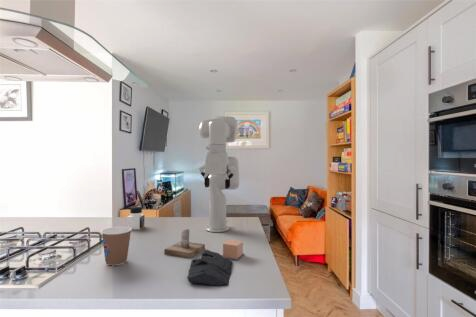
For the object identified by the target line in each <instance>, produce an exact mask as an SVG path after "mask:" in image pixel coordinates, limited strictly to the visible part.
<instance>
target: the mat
mask: <svg viewBox="0 0 476 317" xmlns="http://www.w3.org/2000/svg"><path fill="white" fill-rule="evenodd" d="M221 255H222V257H223V254H221ZM244 255H245V253H244V252H243V254H242V255H241V256H240V257H239V258H238V259H234V258H228V257H224V258H226V259H229V260H231V261H236V262H237V261H239V260H240V259H241V258H242V257H243V256H244Z"/></svg>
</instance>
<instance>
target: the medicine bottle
mask: <svg viewBox="0 0 476 317" xmlns="http://www.w3.org/2000/svg"><path fill="white" fill-rule="evenodd" d="M129 210H130V212H129V214H130V215H128V216H127V219H126V223H127V224H126V227H130V228H131V229H132V231H133V230H138V231H139V230H142V229H143V228H145V213H144V214H143V213H142V212H143V207H142V206H139V205H138V206H135V205H134V206H132V207H130V208H129Z"/></svg>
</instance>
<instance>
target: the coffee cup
mask: <svg viewBox="0 0 476 317" xmlns="http://www.w3.org/2000/svg"><path fill="white" fill-rule="evenodd" d="M131 231H133V229H131V228H130V227H127V226H114V227H113V226H112V227H108V228H104V229H103V230H101V231H100V232H101V235H102V245H103V252H104V253H103V254H104V259H105V260H104V262H105V265H106V266H109V265H112V266H113V265H117V266H120V265H124V264H126V263H127V259H128V255H129V254H128V253H129V249H130V248H129V247H130V240H131V233H132V232H131ZM112 266H111V267H112ZM113 267H114V266H113Z"/></svg>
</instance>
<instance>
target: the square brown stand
mask: <svg viewBox="0 0 476 317" xmlns="http://www.w3.org/2000/svg"><path fill="white" fill-rule="evenodd" d="M180 231H181V239H180V241H178V242H176V243H175V244H172V245H170V246H168V247H166V248H164V250H163V252H164V255H167V256H168V255H169V256H173V257H174V256H175V257H181V258H187V259H191V258H193V257H195V256H196V255H198V254H199V253H201V252H202V251H205V249H206V244H205V243H199V242H198V243H196V242H191V241H190V228H183V229H181V230H180Z"/></svg>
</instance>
